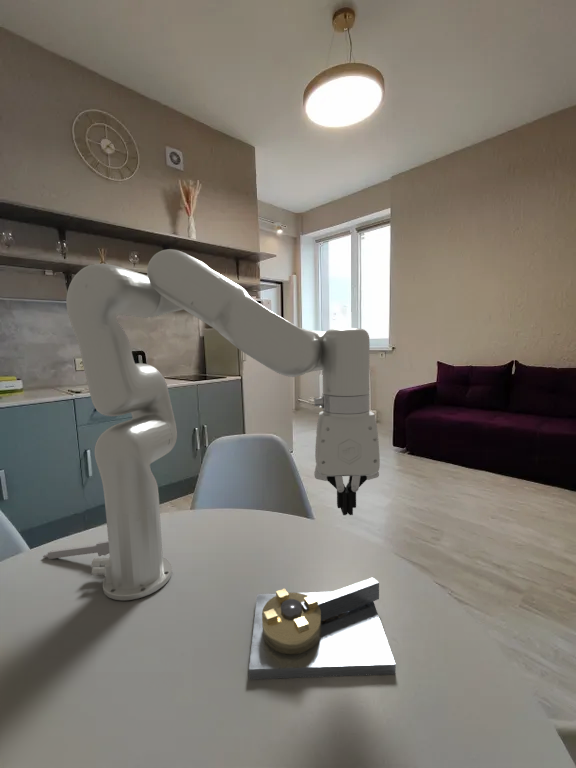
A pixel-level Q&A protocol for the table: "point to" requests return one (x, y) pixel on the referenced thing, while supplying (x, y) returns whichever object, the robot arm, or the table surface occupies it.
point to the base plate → (326, 647)
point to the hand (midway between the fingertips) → (346, 511)
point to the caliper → (80, 550)
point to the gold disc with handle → (309, 614)
